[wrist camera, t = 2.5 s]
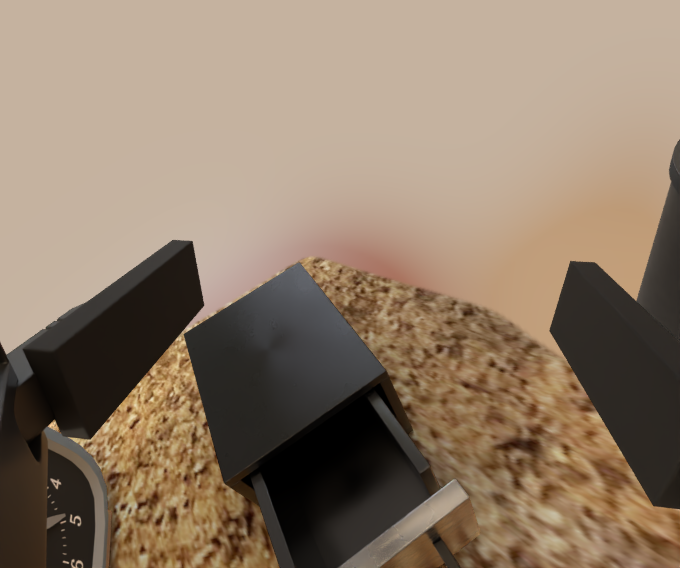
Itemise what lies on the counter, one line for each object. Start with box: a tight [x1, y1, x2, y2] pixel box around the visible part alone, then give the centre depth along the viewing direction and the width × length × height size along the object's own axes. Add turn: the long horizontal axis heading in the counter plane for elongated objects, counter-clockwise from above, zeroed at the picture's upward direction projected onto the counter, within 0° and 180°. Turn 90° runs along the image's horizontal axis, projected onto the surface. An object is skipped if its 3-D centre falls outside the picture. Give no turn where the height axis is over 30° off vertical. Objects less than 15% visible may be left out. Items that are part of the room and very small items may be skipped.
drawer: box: [249, 388, 481, 568], centre depth 26 cm, size 19×11×8 cm, turn 29°
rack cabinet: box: [184, 262, 413, 506], centre depth 35 cm, size 16×13×10 cm
